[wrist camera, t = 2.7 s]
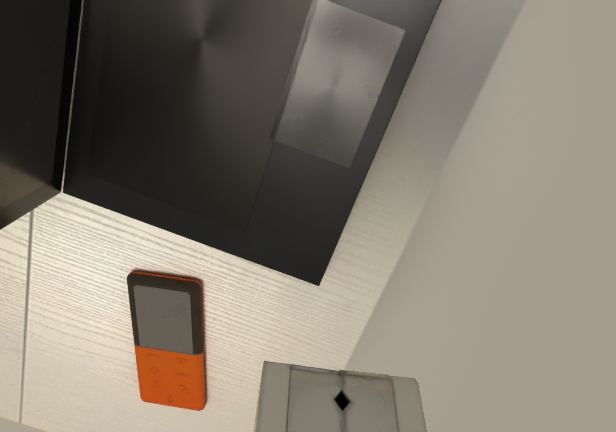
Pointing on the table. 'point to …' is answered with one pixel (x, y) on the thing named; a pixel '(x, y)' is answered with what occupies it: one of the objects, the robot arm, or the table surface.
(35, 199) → the notebook screen
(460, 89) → the table surface
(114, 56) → the notebook
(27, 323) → the table surface
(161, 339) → the phone
